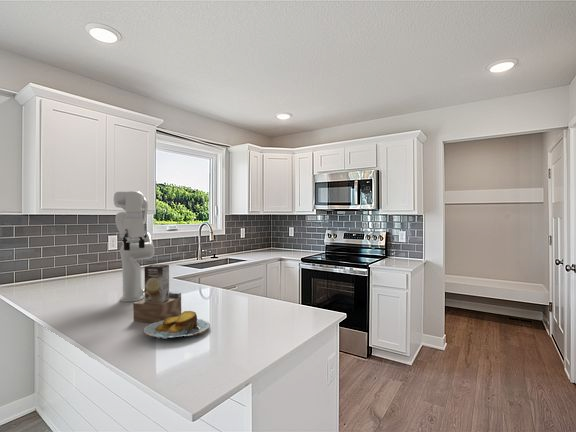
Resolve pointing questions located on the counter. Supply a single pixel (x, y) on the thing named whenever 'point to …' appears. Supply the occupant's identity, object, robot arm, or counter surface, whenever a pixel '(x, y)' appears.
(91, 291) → the counter surface
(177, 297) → the display stand
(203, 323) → the food on plate
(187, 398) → the counter surface
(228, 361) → the counter surface
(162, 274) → the coffee box
